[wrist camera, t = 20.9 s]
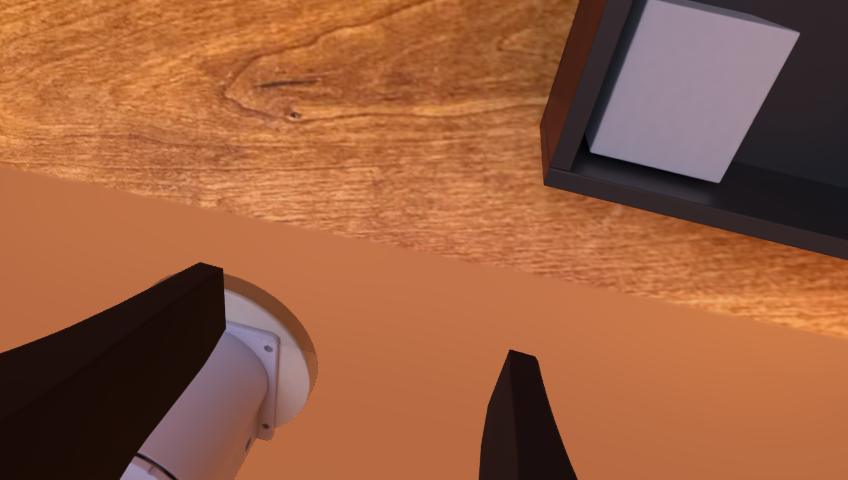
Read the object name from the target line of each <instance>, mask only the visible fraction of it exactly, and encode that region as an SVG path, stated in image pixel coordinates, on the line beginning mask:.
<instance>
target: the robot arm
mask: <svg viewBox="0 0 848 480" xmlns="http://www.w3.org/2000/svg"><path fill="white" fill-rule="evenodd" d="M269 346H271V347H272V348H271V347H269ZM278 358H279V338H278V336H277V335H276V334H274V333H272V332H268V331H265V330H261V329H257V328H253V327H250V326H246V325H242V324H238V323H235V322H231V321H227V320H226V319H225V298H224V277H223V268H219V267H216V266H212V265H208V264H205V263H201V262H200V263H197V264H195V265H194V266H191V267H189V268H187V269H185V270H183V271H182V272H179V273H178V274H176V275H174V276H172V277H170V278H168V279H166V280H164V281H162V282H161V283H159V284H157V285H155V286H153V287H151V288H149V289H147V290H145V291H143V292H141V293H139V294H137V295H135V296H133V297H132V298H129V299H128V300H126V301H124V302H122V303H120V304H118V305H116V306H114V307H112V308H109V309H107V310H105V311H103V312H101V313H99V314H96V315H94V316H92V317H90V318H88V319H85V320H83V321H81V322H79V323H77V324H75V325H72V326H70V327H68V328H65V329H63V330H61V331H58V332H56V333H54V334H51V335H49V336H46V337H43V338H41V339H38V340H36V341H33V342H30V343H28V344H25V345H22V346H20V347H17V348H14V349H11V350H9V351H6V352H3V353H0V480H234V479H235V477H236V475H237V473H238V471H239V469H240V468H241V465H242V464H243V462H244V460H245V458H246V456H247V455H248V453H249V451H250V449H251V447H252V445H253V443H254V441H255V440H256V438H259V439H262V440H266V441H268V440H271V439H272V438H273V436H274V430H275V412H276V394H277V376H278ZM479 480H578V479H577V477H576V474H575V472H574V470H573V467H572V465H571V463H570V460H569V458H568V455H567V453H566V450H565V447H564V445H563V442H562V439H561V436H560V434H559V431H558V429H557V425H556V423H555V420H554V417H553V414H552V411H551V407H550V404H549V401H548V398H547V394H546V391H545V387H544V384H543V380H542V376H541V372H540V368H539V363H538V361H537V359H536V357H535V356H532V355H528V354H525V353H521V352H517V351H514V350H509V353H508V355H507V358H506V360H505V363H504V365H503V368H502V371H501V373H500V376H499V378H498V381H497V383H496V386H495V389H494V391H493V394H492V396H491V399H490V401H489V404H488V409H487V414H486V420H485V425H484V431H483V437H482V443H481V454H480V469H479Z"/></svg>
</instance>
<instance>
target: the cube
mask: <svg viewBox="0 0 848 480" xmlns="http://www.w3.org/2000/svg"><path fill="white" fill-rule="evenodd" d="M799 35H800V33H799V32H797V31H795V30H792V29H789V28H786V27H784V26H781V25H778V24H775V23H773V22H770V21H767V20H764V19H762V18H759V17H756V16H753V15H751V14H747V13H742V12H738V11H733V10H729V9H724V8H720V7H716V6H711V5H707V4H702V3H698V2H694V1H689V0H633V2H632V5H631V7H630V10H629V13H628V15H627V18H626V21H625V24H624V26H623V29H622V32H621V34H620V37H619V40H618V43H617V45H616V48H615V51H614V53H613V56H612V59H611V61H610V64H609V67H608V70H607V72H606V75H605V78H604V80H603V83H602V86H601V89H600V91H599V94H598V97H597V99H596V102H595V105H594V108H593V110H592V113H591V116H590V118H589V121H588V124H587V126H586V129H585V132H584V133H585V136H586V140H587V143H588V147H589V150H590V152H591V153H595V154H599V155H603V156H607V157H611V158H615V159H620V160H624V161H628V162H632V163H636V164H640V165H644V166H648V167H653V168H657V169H661V170H665V171H669V172H673V173H677V174H681V175H686V176H690V177H694V178H698V179H702V180H706V181H710V182H714V183H719V182H720V181H721V179H722V177H723V175H724V174H725V172H726V170H727V168H728V166H729V164H730V163H731V161H732V159H733V157H734V155H735V153H736V152H737V150H738V148H739V146H740V144H741V142H742V140H743V139H744V137H745V135H746V133H747V131H748V129H749V128H750V126H751V124H752V122H753V120H754V118H755V117H756V115H757V113H758V111H759V109H760V107H761V105H762V104H763V102H764V100H765V98H766V96H767V94H768V93H769V91H770V89H771V87H772V85H773V83H774V82H775V80H776V78H777V76H778V74H779V72H780V70H781V69H782V67H783V65H784V63H785V61H786V59H787V58H788V56H789V54H790V52H791V50H792V48H793V47H794V45H795V43H796V41H797V39H798V37H799Z"/></svg>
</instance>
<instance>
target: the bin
mask: <svg viewBox="0 0 848 480" xmlns="http://www.w3.org/2000/svg"><path fill="white" fill-rule="evenodd" d="M689 1H694V2H698V3H702V4H707V5H711V6H716V7H720V8H724V9H729V10H733V11H738V12H742V13H747V14H751V15H753V16H756V17H759V18H762V19H764V20H767V21H770V22H773V23H775V24H778V25H781V26H784V27H786V28H789V29H792V30H795V31H797V32H799V33H800V35H799V37H798V39H797V41H796V43H795V45H794V47H793V48H792V50H791V52H790V54H789V56H788V58H787V59H786V61H785V63H784V65H783V67H782V69H781V70H780V72H779V74H778V76H777V78H776V80H775V82H774V83H773V85H772V87H771V89H770V91H769V93H768V94H767V96H766V98H765V100H764V102H763V104H762V105H761V107H760V109H759V111H758V113H757V115H756V117H755V118H754V120H753V122H752V124H751V126H750V128H749V129H748V131H747V133H746V135H745V137H744V139H743V140H742V142H741V144H740V146H739V148H738V150H737V152H736V153H735V155H734V157H733V159H732V161H731V163H730V164H729V166H728V168H727V170H726V172H725V174H724V175H723V177H722V179H721V181H720V182H719V183H714V182H710V181H706V180H702V179H698V178H694V177H690V176H686V175H681V174H677V173H673V172H669V171H665V170H661V169H657V168H653V167H648V166H644V165H640V164H636V163H632V162H628V161H624V160H620V159H615V158H611V157H607V156H603V155H599V154H595V153H591V152H590V150H589V147H588V143H587V140H586V136H585V133H584V132H585V129H586V126H587V124H588V121H589V118H590V116H591V113H592V110H593V108H594V105H595V102H596V99H597V97H598V94H599V91H600V89H601V86H602V83H603V80H604V78H605V75H606V72H607V70H608V67H609V64H610V61H611V59H612V56H613V53H614V51H615V48H616V45H617V43H618V40H619V37H620V34H621V32H622V29H623V26H624V24H625V21H626V18H627V15H628V13H629V10H630V7H631V5H632V2H633V0H580V2H579V5H578V8H577V11H576V14H575V17H574V20H573V24H572V27H571V30H570V33H569V36H568V39H567V42H566V45H565V49H564V52H563V55H562V58H561V61H560V64H559V67H558V70H557V74H556V77H555V80H554V83H553V86H552V89H551V92H550V96H549V99H548V102H547V105H546V108H545V111H544V114H543V117H542V121H541V124H540V135H541V150H542V166H543V181H544V185H545V186H549V187H553V188H557V189H561V190H565V191H569V192H573V193H577V194H581V195H585V196H589V197H594V198H598V199H602V200H606V201H610V202H614V203H618V204H622V205H626V206H630V207H634V208H638V209H642V210H646V211H650V212H654V213H658V214H662V215H667V216H671V217H675V218H679V219H683V220H687V221H691V222H695V223H699V224H703V225H707V226H711V227H715V228H719V229H723V230H727V231H731V232H735V233H739V234H744V235H748V236H752V237H756V238H760V239H764V240H768V241H772V242H776V243H780V244H784V245H788V246H792V247H796V248H800V249H804V250H808V251H812V252H817V253H821V254H825V255H829V256H833V257H837V258H841V259H845V260H848V0H689Z"/></svg>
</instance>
